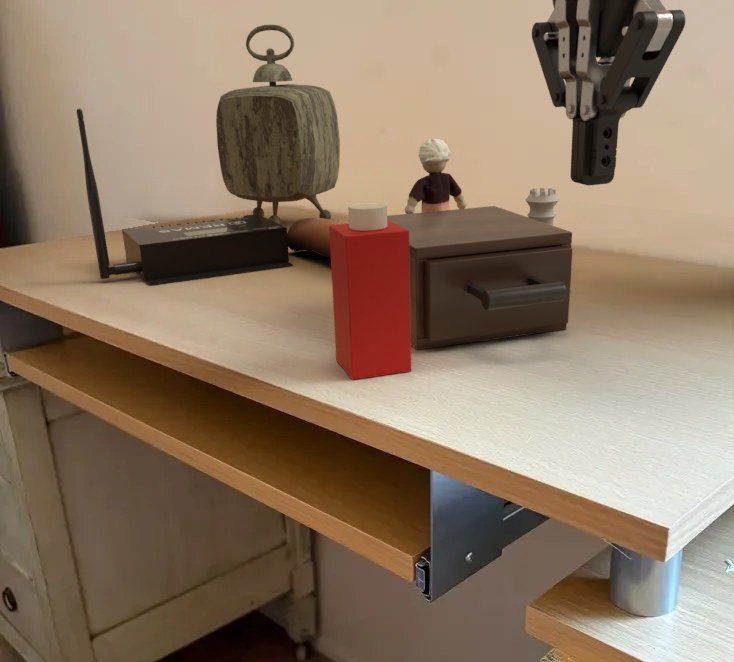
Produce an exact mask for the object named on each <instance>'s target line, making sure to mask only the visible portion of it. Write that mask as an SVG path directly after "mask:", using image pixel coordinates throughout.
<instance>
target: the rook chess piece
mask: <svg viewBox="0 0 734 662" xmlns="http://www.w3.org/2000/svg"><path fill="white" fill-rule="evenodd" d="M559 201H560V199H559V197H558V196H557V195H556V189H555V188H551V187H548V188H547V191H546V187H540V188H539V191H538V188H531V189H529V194H528V195H527V197H526V198H525V202H526V204H527V205H528V207H529V212H528V213H527V214H526V215H527V216H526V217H528V218H531V219H534V220H537V221H540V222H543V223H546V224H549V225H552V226H554V219H555V217H556V216H557V215H556V212H555V211H554V209H555V207H556V205H557V203H558V202H559Z"/></svg>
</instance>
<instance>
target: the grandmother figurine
mask: <svg viewBox="0 0 734 662" xmlns="http://www.w3.org/2000/svg"><path fill="white" fill-rule="evenodd" d="M448 146H449V145H448V144H447V143H445V141H443V140H442V138H441V139H439V138H430V139H428V140H426V141H425V142H423V143H422V144H421V146H420V147H419V150H418V151H419V152H418V157H419V161H420V163H421V165H422V168H423V170H424V171H425V172H426V173H428V175H425V176H424V177H421V178H419V179H418V180H416V181H415V183H414V185H413V186H412V188H411V190H410V191H409V193H408V199H407V203H406V206H405V207H404V212H405V213H404V214H412V213H415V210H416V207H417V206H418V203H420V202H421V213H423V212H434V211H445V210H451V207H450V206H451V205H450V198H451V197H453V200H454V202H455V203H456V207H457V209H466V207H467V205H468V204H467V201H466V200H465V196H464V194H463V191H462V188H461V187H460V185H459V184H458V182H457V181H456V179H455V178H454V177H453V176H452V175H451V174H450V173H448V172H443V171H444V170H445V168H446V166H447V162H449V161H450V159H451V157H450V156H451V150H450V148H449V147H448ZM450 196H451V197H450Z"/></svg>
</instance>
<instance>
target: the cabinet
mask: <svg viewBox="0 0 734 662" xmlns="http://www.w3.org/2000/svg"><path fill="white" fill-rule="evenodd" d="M387 220H389V221H391V222H393V223H395V224H397V225H399V226H401V227H403V228H405V229H407V230H409V250H410V317H411V347H414V348H415V349H416V350H423V349H424V350H425V349H432V348H439V347H445V346H453V345H461V344H467V343H476V342H483V341H491V340H498V339H505V338H512V337H513V338H514V337H520V336H527V335H534V334H542V333H550V332H556V331H557V332H558V331H564V330H567V326H568V325H567V324H568V323H563V324H556V325H548V326H541V327H533V328H526V329H518V330H511V331H504V332H496V333H489V334H481V335H474V336H466V337H459V338H451V339H444V340H437V341H429V340H428V339H427V338H425V325H424V261H425V260H427V259H432V258H441V257H451V256H460V255H470V254H479V253H488V252H498V251H507V250H516V249H526V248H535V247H545V246H546V247H555V246H567V247H570V248H572V243H573V242H572V241H573V232H572V231H569V230H567V229H564V228H561V227H558V226H556V225H555V226H554V225H553V226H552V225H549V224H546V223H543V222H540V221H537V220H534V219H531V218H529V217H528V216H526V215H522V214H519V213H516V212H514V211H510V210H507V209H505V208H502V207H498V206H495V205H491V206H479V207H467V208H464V209H459V208H457V209H450V210H445V211H434V212H423V213H422V212H414V213H412V214H406V213H403V214H392V215H391V214H390V215H387Z"/></svg>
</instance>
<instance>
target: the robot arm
mask: <svg viewBox="0 0 734 662" xmlns="http://www.w3.org/2000/svg"><path fill="white" fill-rule="evenodd" d="M552 6H553V10H552V13H551V14H550V16H549V17H548V19H547V21H543V22H542V21H541V22H534V24H533V25H532V29H531V40H532V43H533V46H534V49H535V52H536V55H537V58H538V62H539V64H540V66H541V71H542V75H543V77H544V80H545V83H546V86H547V89H548V92H549V97H550V99H551V102H552V105H553V107H554V108H562V107H563V108H564V109H565V115H566V118H567V119H569V120H572V133H571V134H572V135H571V150H570V151H571V152H570V153H571V155H570V179H571V181H572V182H573V183H576V184H580V185H584V186H597V185H607V184H610V183H612V181H613V180H614V178H615V173H616V172H615V170H616V165H617V151H618V150H617V149H618V139H619V138H618V137H619V135H618V134H619V123H620V120H621V119H622V118H624V117H625V116H626V114H627V112H629V111H630V110H632V109H640V108H642V107H643V106H644V104H645V103H646V101H647V99H648V97H649V95H650V93H651V92H652V90H653V88H654V86H655V84H656V82H657V80H658V78H659V76H660V74H661V72H662V71H663V69H664V67H665V65H666V63H667V62H668V60H669V57H670V56H671V53H672V51H673V50H674V48H675V46H676V44H677V42H678V40H679V39H680V37H681V34H682V33H683V31H684V28H685V26H686V14H685V12H684V10H682V9H666V8H665V6H664V4H663V3H662V1H661V0H552ZM597 58H598V59H599V60H597ZM632 78H633V79H632ZM631 79H632V82H631ZM630 83H631V84H630Z"/></svg>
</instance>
